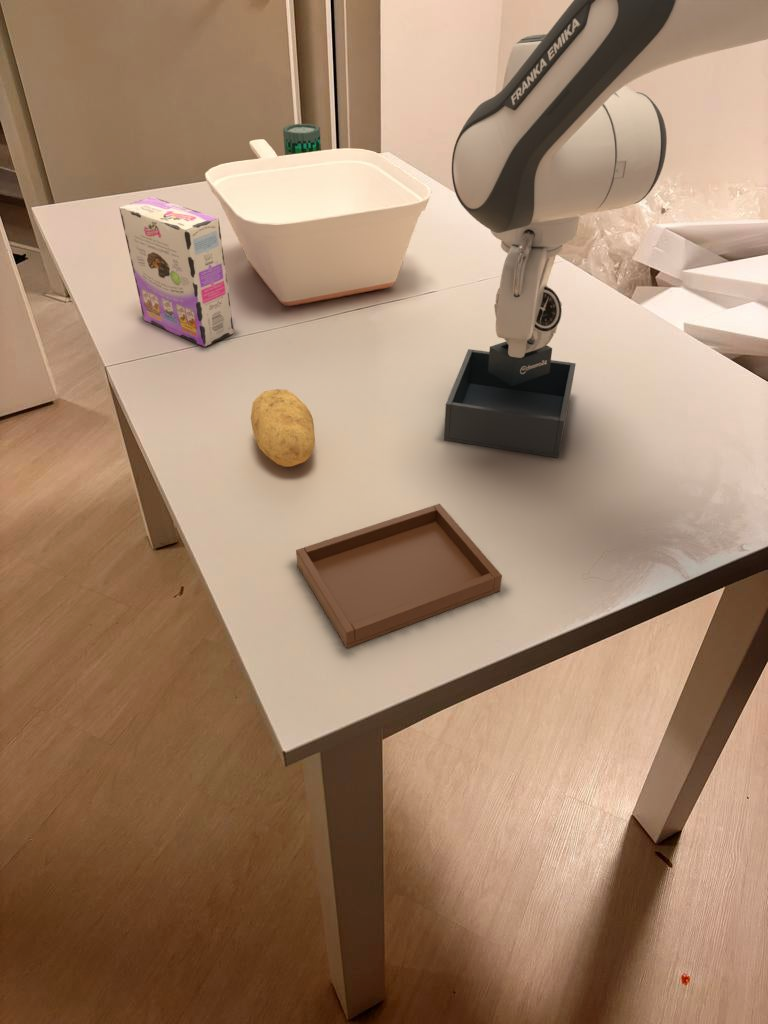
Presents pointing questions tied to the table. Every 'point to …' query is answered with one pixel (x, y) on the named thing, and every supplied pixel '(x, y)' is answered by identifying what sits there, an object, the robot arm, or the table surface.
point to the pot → (320, 219)
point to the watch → (528, 345)
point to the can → (301, 139)
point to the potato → (283, 427)
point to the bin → (508, 408)
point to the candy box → (179, 269)
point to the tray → (396, 573)
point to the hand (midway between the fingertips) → (521, 339)
